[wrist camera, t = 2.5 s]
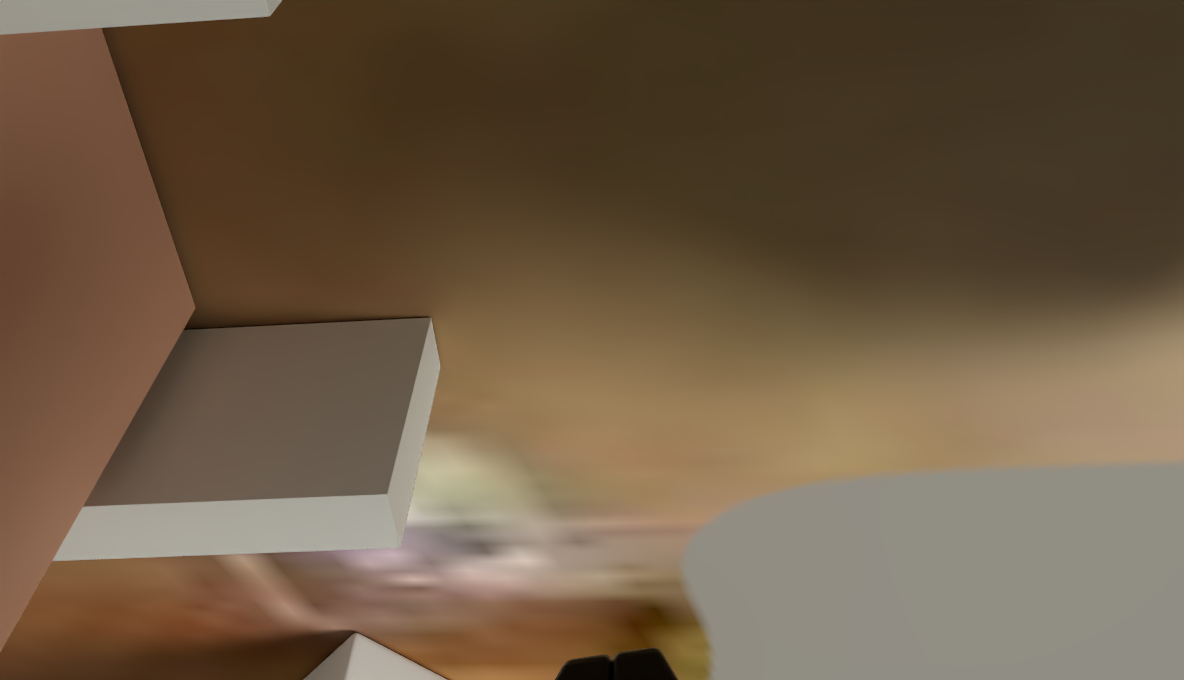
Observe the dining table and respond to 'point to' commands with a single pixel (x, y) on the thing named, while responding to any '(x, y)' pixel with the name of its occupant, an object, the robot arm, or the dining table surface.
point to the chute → (255, 405)
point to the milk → (368, 663)
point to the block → (71, 291)
